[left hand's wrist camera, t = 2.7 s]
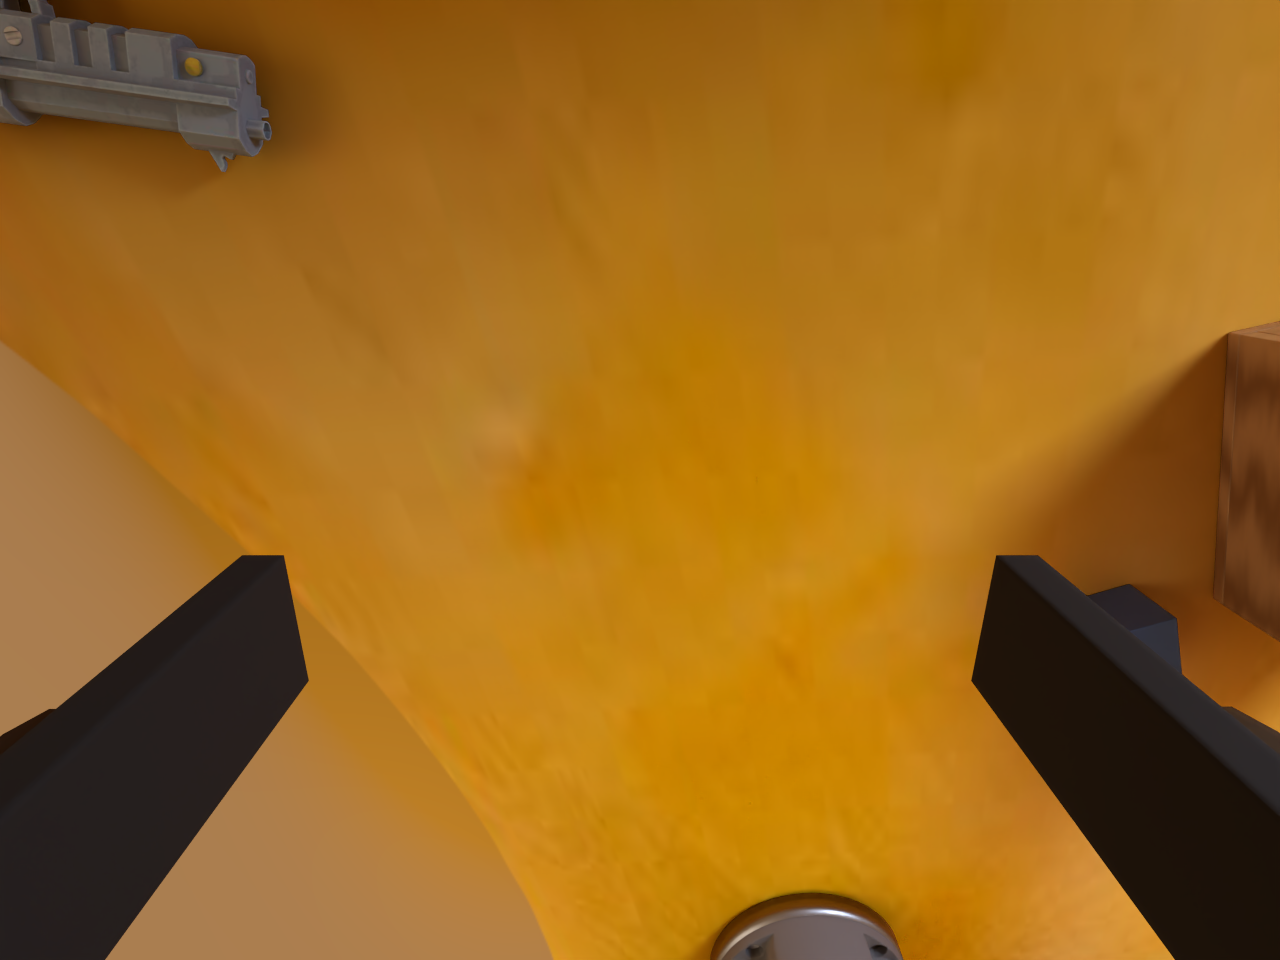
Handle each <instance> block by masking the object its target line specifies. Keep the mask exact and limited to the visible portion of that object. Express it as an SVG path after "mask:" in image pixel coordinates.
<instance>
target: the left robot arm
mask: <svg viewBox="0 0 1280 960" xmlns="http://www.w3.org/2000/svg"><path fill="white" fill-rule="evenodd" d="M308 681H309V680H308V675H307V670H306V665H305V660H304V655H303V650H302V645H301V640H300V635H299V630H298V625H297V620H296V615H295V610H294V605H293V600H292V595H291V589H290V584H289V579H288V574H287V569H286V564H285V559H284V555H242V556H241V557H240V558H238V559H237V560H236V561H235V562H234V563H232V564H231V565H230V566H229V567H227V568H226V569H225V570H224V571H223V572H222V573H220V574H219V575H218V576H217V577H215V578H214V579H213V580H212V581H211V582H209V583H208V584H207V585H206V586H204V587H203V588H202V589H201V590H200V591H198V592H197V593H196V594H195V595H194V596H192V597H191V598H190V599H189V600H188V601H186V602H185V603H184V604H183V605H181V606H180V607H179V608H178V609H177V610H175V611H174V612H173V613H172V614H171V615H169V616H168V617H167V618H166V619H164V620H163V621H162V622H161V623H160V624H158V625H157V626H156V627H155V628H154V629H152V630H151V631H150V632H149V633H148V634H146V635H145V636H144V637H143V638H141V639H140V640H139V641H138V642H137V643H135V644H134V645H133V646H132V647H131V648H129V649H128V650H127V651H126V652H125V653H123V654H122V655H121V656H120V657H118V658H117V659H116V660H115V661H114V662H112V663H111V664H110V665H109V666H108V667H106V668H105V669H104V670H103V671H102V672H100V673H99V674H98V675H97V676H95V677H94V678H93V679H92V680H91V681H89V682H88V683H87V684H86V685H85V686H83V687H82V688H81V689H80V690H79V691H77V692H76V693H75V694H74V695H72V696H71V697H70V698H69V699H68V700H66V701H65V702H64V703H63V704H62V705H60V706H59V707H58V708H57V709H49V710H47V711H45V712H43V713H41V714H39V715H38V716H36V717H34V718H32V719H30V720H28V721H27V722H25V723H23V724H21V725H19V726H17V727H16V728H14V729H12V730H10V731H8V732H6V733H5V734H3V735H2V736H0V960H105V959H106V958H107V956H108V955H109V954H110V952H111V951H112V949H113V948H114V947H115V945H116V944H117V943H118V941H119V940H120V938H121V937H122V936H123V934H124V933H125V932H126V930H127V929H128V927H129V926H130V925H131V923H132V922H133V921H134V919H135V918H136V916H137V915H138V914H139V912H140V911H141V910H142V908H143V907H144V906H145V904H146V903H147V901H148V900H149V899H150V897H151V896H152V895H153V893H154V892H155V890H156V889H157V888H158V886H159V885H160V884H161V882H162V881H163V880H164V878H165V877H166V875H167V874H168V873H169V871H170V870H171V869H172V867H173V866H174V864H175V863H176V862H177V860H178V859H179V858H180V856H181V855H182V853H183V852H184V851H185V849H186V848H187V847H188V845H189V844H190V843H191V841H192V840H193V838H194V837H195V836H196V834H197V833H198V832H199V830H200V829H201V827H202V826H203V825H204V823H205V822H206V821H207V819H208V818H209V816H210V815H211V814H212V812H213V811H214V810H215V808H216V807H217V806H218V804H219V803H220V801H221V800H222V799H223V797H224V796H225V795H226V793H227V792H228V791H229V789H230V788H231V786H232V785H233V784H234V782H235V781H236V780H237V778H238V777H239V775H240V774H241V773H242V771H243V770H244V769H245V767H246V766H247V765H248V763H249V762H250V760H251V759H252V758H253V756H254V755H255V754H256V752H257V751H258V749H259V748H260V747H261V745H262V744H263V743H264V741H265V740H266V738H267V737H268V736H269V734H270V733H271V732H272V730H273V729H274V728H275V726H276V725H277V723H278V722H279V721H280V719H281V718H282V717H283V715H284V714H285V712H286V711H287V710H288V708H289V707H290V705H291V704H292V703H293V702H294V700H295V699H296V697H297V696H298V695H299V693H300V692H301V691H302V689H303V688H304V686H305V685H306V684H307V682H308ZM971 681H972V682H973V684H974V685H975V686H976V688H977V689H978V691H979V692H980V693H981V695H982V696H983V697H984V699H985V700H986V702H987V703H988V704H989V706H990V707H991V708H992V710H993V711H994V712H995V714H996V715H997V717H998V718H999V719H1000V721H1001V722H1002V723H1003V725H1004V726H1005V728H1006V729H1007V730H1008V732H1009V733H1010V734H1011V736H1012V737H1013V738H1014V740H1015V741H1016V743H1017V744H1018V745H1019V747H1020V748H1021V749H1022V751H1023V752H1024V754H1025V755H1026V756H1027V758H1028V759H1029V760H1030V762H1031V763H1032V765H1033V766H1034V767H1035V769H1036V770H1037V771H1038V773H1039V774H1040V775H1041V777H1042V778H1043V780H1044V781H1045V782H1046V784H1047V785H1048V786H1049V788H1050V789H1051V791H1052V792H1053V793H1054V795H1055V796H1056V797H1057V799H1058V800H1059V801H1060V803H1061V804H1062V806H1063V807H1064V808H1065V810H1066V811H1067V812H1068V814H1069V815H1070V817H1071V818H1072V819H1073V821H1074V822H1075V823H1076V825H1077V826H1078V828H1079V829H1080V830H1081V832H1082V833H1083V834H1084V836H1085V837H1086V838H1087V840H1088V841H1089V843H1090V844H1091V845H1092V847H1093V848H1094V849H1095V851H1096V852H1097V854H1098V855H1099V856H1100V858H1101V859H1102V860H1103V862H1104V863H1105V864H1106V866H1107V867H1108V869H1109V870H1110V871H1111V873H1112V874H1113V875H1114V877H1115V878H1116V880H1117V881H1118V882H1119V884H1120V885H1121V886H1122V888H1123V889H1124V891H1125V892H1126V893H1127V895H1128V896H1129V897H1130V899H1131V900H1132V901H1133V903H1134V904H1135V906H1136V907H1137V908H1138V910H1139V911H1140V912H1141V914H1142V915H1143V917H1144V918H1145V919H1146V921H1147V922H1148V923H1149V925H1150V926H1151V927H1152V929H1153V930H1154V932H1155V933H1156V934H1157V936H1158V937H1159V938H1160V940H1161V941H1162V943H1163V944H1164V945H1165V947H1166V948H1167V949H1168V951H1169V952H1170V954H1171V955H1172V956H1173V958H1174V959H1175V960H1280V733H1279V732H1277V731H1275V730H1274V729H1272V728H1270V727H1268V726H1266V725H1264V724H1263V723H1261V722H1259V721H1257V720H1255V719H1253V718H1252V717H1250V716H1248V715H1246V714H1244V713H1242V712H1240V711H1239V710H1237V709H1235V708H1233V707H1221V706H1220V705H1218V704H1217V703H1216V702H1215V701H1214V700H1212V699H1211V698H1210V697H1209V696H1208V695H1206V694H1205V693H1204V692H1203V691H1202V690H1200V689H1199V688H1198V687H1197V686H1195V685H1194V684H1193V683H1192V682H1191V681H1189V680H1188V679H1187V678H1186V677H1185V676H1183V675H1182V674H1181V673H1180V672H1178V671H1177V670H1176V669H1175V668H1174V667H1172V666H1171V665H1170V664H1169V663H1168V662H1166V661H1165V660H1164V659H1163V658H1162V657H1160V656H1159V655H1158V654H1157V653H1155V652H1154V651H1153V650H1152V649H1151V648H1149V647H1148V646H1147V645H1146V644H1145V643H1143V642H1142V641H1141V640H1140V639H1139V638H1137V637H1136V636H1135V635H1134V634H1132V633H1131V632H1130V631H1129V630H1128V629H1126V628H1125V627H1124V626H1123V625H1122V624H1120V623H1119V622H1118V621H1117V620H1116V619H1114V618H1113V617H1112V616H1111V615H1109V614H1108V613H1107V612H1106V611H1105V610H1103V609H1102V608H1101V607H1100V606H1099V605H1097V604H1096V603H1095V602H1094V601H1092V600H1091V599H1090V598H1089V597H1088V596H1086V595H1085V594H1084V593H1083V592H1082V591H1080V590H1079V589H1078V588H1077V587H1076V586H1074V585H1073V584H1072V583H1071V582H1069V581H1068V580H1067V579H1066V578H1065V577H1063V576H1062V575H1061V574H1060V573H1059V572H1057V571H1056V570H1055V569H1054V568H1053V567H1051V566H1050V565H1049V564H1048V563H1046V562H1045V561H1044V560H1043V559H1042V558H1040V557H1039V556H1038V555H996V559H995V564H994V569H993V574H992V579H991V584H990V589H989V595H988V600H987V605H986V610H985V615H984V620H983V625H982V630H981V635H980V640H979V645H978V650H977V655H976V660H975V665H974V670H973V675H972V680H971ZM710 960H903V957H902V954H901V952H900V949H899V946H898V943H897V941H896V938H895V935H894V933H893V931H892V929H891V928H890V926H889V925H888V924H887V922H886V921H885V920H884V919H883V918H882V917H881V916H880V915H879V914H878V913H876V912H875V911H873V910H872V909H870V908H869V907H867V906H865V905H863V904H861V903H859V902H857V901H854V900H851V899H849V898H845V897H841V896H836V895H831V894H822V893H801V894H792V895H787V896H782V897H778V898H774V899H771V900H768V901H765V902H762V903H760V904H758V905H755V906H754V907H752V908H750V909H748V910H746V911H745V912H743V913H741V914H740V915H739V916H737V917H736V918H735V919H734V920H732V921H731V922H730V923H729V924H728V925H727V926H726V927H725V928H724V930H723V931H722V932H721V934H720V935H719V936H718V938H717V940H716V942H715V944H714V946H713V949H712V953H711V959H710Z"/></svg>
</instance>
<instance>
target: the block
mask: <svg viewBox="0 0 1280 960" xmlns="http://www.w3.org/2000/svg"><path fill="white" fill-rule="evenodd" d="M1088 597H1089V598H1090V599H1091V600H1092V601H1094V602H1095V603H1096V604H1097V605H1099V606H1100V607H1101V608H1102V609H1103V610H1105V611H1106V612H1107V613H1108V614H1109V615H1111V616H1112V617H1113V618H1114V619H1116V620H1117V621H1118V622H1119V623H1120V624H1122V625H1123V626H1124V627H1125V628H1126V629H1128V630H1129V631H1130V632H1131V633H1132V634H1134V635H1135V636H1136V637H1137V638H1139V639H1140V640H1141V641H1142V642H1143V643H1145V644H1146V645H1147V646H1148V647H1149V648H1151V649H1152V650H1153V651H1154V652H1155V653H1157V654H1158V655H1159V656H1160V657H1162V658H1163V659H1164V660H1165V661H1166V662H1168V663H1169V664H1170V665H1171V666H1172V667H1174V668H1175V669H1176V670H1177V671H1178V672H1180V673H1181V674H1182V670H1181V659H1180V648H1179V638H1178V627H1177V618H1175V617H1174V616H1173V615H1171V614H1170V613H1169V612H1167V611H1166V610H1164V609H1163V608H1162V607H1160V606H1159V605H1158V604H1156V603H1155V602H1154V601H1152V600H1151V599H1149V598H1148V597H1147V596H1145V595H1144V594H1143V593H1141V592H1140V591H1138V590H1137V589H1136V588H1134V587H1133V586H1132V585H1130V584H1128V585H1124V586H1121V587H1117V588H1114V589H1110V590H1107V591H1103V592H1100V593H1096V594H1093V595H1089V596H1088Z"/></svg>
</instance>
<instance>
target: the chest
mask: <svg viewBox="0 0 1280 960" xmlns="http://www.w3.org/2000/svg"><path fill="white" fill-rule="evenodd" d="M1213 598H1214V599H1215V600H1217V601H1218V602H1220V603H1221V604H1223V605H1224V606H1225V607H1227V608H1228V609H1230V610H1232V611H1233V612H1235V613H1236V614H1238V615H1239V616H1241V617H1242V618H1244V619H1245V620H1247V621H1248V622H1250V623H1252V624H1253V625H1255V626H1256V627H1258V628H1259V629H1261V630H1262V631H1264V632H1265V633H1267V634H1269V635H1270V636H1272V637H1273V638H1275V639H1276V640H1278V641H1279V642H1280V321H1278V322H1274V323H1270V324H1265V325H1261V326H1256V327H1252V328H1247V329H1243V330H1238V331H1234V332H1230V333H1229V334H1228V349H1227V366H1226V384H1225V401H1224V419H1223V436H1222V454H1221V471H1220V489H1219V506H1218V523H1217V541H1216V558H1215V576H1214V593H1213Z"/></svg>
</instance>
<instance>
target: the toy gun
mask: <svg viewBox="0 0 1280 960" xmlns="http://www.w3.org/2000/svg"><path fill="white" fill-rule="evenodd" d="M28 2H29V4H30V8H31V12H32V13H28V12H21V10H20V6H19V2H18V0H0V122H1V123H9V124H16V125H23V126H28V125H31V124H34V123H36V122H37V121H38V119H39V118H40V117H41V116H42V115H43V114H48V115H55V116H62V117H69V118H77V119H84V120H91V121H99V122H106V123H113V124H120V125H128V126H135V127H142V128H149V129H157V130H164V131H171V132H179V133H181V135H182V136H183V138H184V139H185V141H186V142H187V143H188V144H189V145H190V146H191V147H193V148H194V149H199V150H206V151H209V152H210V154H211V155H212V157H213V159H214V160H215V162H216V163H217V165H218V167H219V168H220V170H221V171H222V172H226V170H227V162H226V160H225V157H227V158H229V159H233V160H234V159H235V157H236V155H243V156H250V157H253V156H255V155H256V154H258V153H259V151H260V149H261V147H262V145H263V140H270V139H271V135H272V131H271V127H270V124H269V123H268V122H267V121H262V118H265V117H269V113H268V110H267V109H265V108H262V107H261V97H260V96H259V95H257V93H256V77H255V65H254V64H253V62H252V61H251V59H250V58H248V57H247V56H246V55H240V54H233V53H226V52H219V51H212V50H205V49H198V48H197V46H196V45H195V44H194V43H193V41H192V40H191V39H189V38H188V37H186V36H185V35H180V34H173V33H166V32H159V31H152V30H145V29H138V28H131V29H129V30H128V29H126V28H125V27H123V26H118V25H111V24H104V23H96V22H95V23H93V24H91V23H89V22H87V21H83V20H76V19H69V18H62V17H58V18H56V17H55V13H54V9H53V6H52V5H50V4H48V2H47V0H28Z"/></svg>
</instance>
